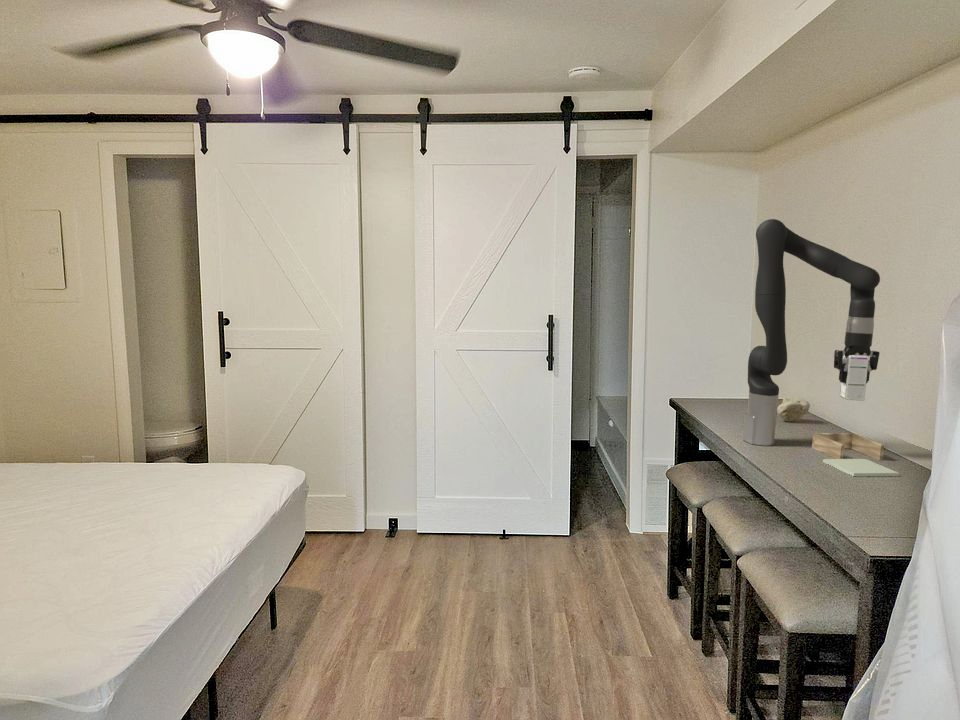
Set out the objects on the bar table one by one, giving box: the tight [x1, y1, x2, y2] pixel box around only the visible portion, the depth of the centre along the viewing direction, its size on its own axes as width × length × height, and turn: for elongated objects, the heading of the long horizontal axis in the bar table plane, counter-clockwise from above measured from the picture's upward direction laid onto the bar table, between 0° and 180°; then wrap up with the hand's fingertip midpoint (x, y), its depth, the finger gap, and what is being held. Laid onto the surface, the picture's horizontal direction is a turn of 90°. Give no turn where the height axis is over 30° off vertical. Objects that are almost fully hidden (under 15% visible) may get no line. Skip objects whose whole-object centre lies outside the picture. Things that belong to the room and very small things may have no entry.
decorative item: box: [777, 397, 811, 423], centre depth 252 cm, size 12×9×10 cm
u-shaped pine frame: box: [811, 432, 885, 461], centre depth 208 cm, size 14×14×5 cm
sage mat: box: [822, 458, 900, 478], centre depth 192 cm, size 14×14×1 cm
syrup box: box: [839, 355, 870, 402], centre depth 205 cm, size 6×6×14 cm
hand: (853, 382), depth 205 cm, fingers closed on syrup box, 6 cm apart
